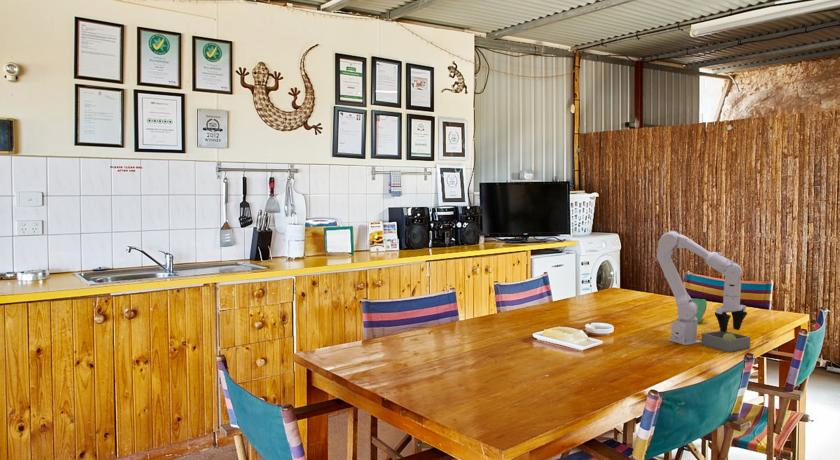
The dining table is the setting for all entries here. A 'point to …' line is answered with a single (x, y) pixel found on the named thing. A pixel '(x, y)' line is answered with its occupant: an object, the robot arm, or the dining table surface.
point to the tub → (725, 341)
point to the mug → (700, 308)
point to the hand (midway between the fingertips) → (729, 330)
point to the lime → (729, 336)
